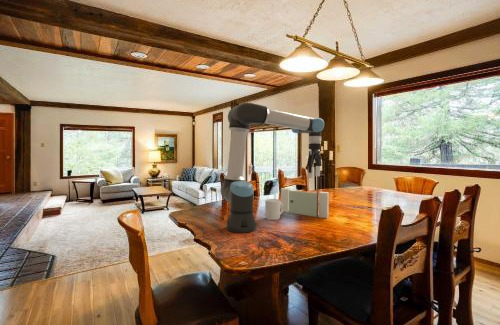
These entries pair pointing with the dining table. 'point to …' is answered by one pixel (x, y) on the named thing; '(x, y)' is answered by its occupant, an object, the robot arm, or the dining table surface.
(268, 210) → the mug
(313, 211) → the door
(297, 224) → the dining table surface
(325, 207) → the wall frame
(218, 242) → the dining table surface
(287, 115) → the robot arm
